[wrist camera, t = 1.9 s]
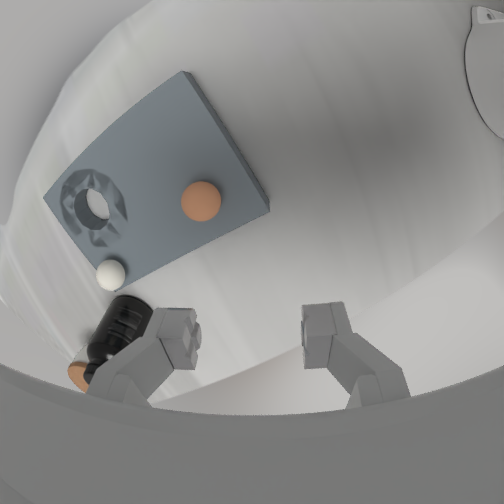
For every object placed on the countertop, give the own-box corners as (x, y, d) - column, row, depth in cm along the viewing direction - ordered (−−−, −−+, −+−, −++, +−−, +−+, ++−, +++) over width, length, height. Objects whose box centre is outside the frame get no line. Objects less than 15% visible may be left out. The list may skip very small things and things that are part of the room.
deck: (189, 73, 20) (181, 70, 18) (269, 201, 26) (269, 211, 24) (55, 189, 26) (42, 197, 23) (123, 279, 32) (115, 292, 29)
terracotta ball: (210, 169, 22) (202, 180, 19) (230, 201, 23) (225, 216, 21) (179, 188, 23) (168, 202, 20) (199, 218, 24) (191, 234, 22)
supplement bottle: (103, 303, 34) (64, 370, 24) (133, 287, 32) (92, 362, 22) (135, 336, 37) (107, 403, 27) (167, 323, 35) (141, 399, 25)
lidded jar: (116, 325, 36) (92, 375, 28) (154, 369, 41) (139, 416, 33) (75, 332, 39) (51, 374, 31) (111, 371, 44) (95, 412, 36)
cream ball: (116, 248, 26) (102, 266, 24) (135, 271, 28) (123, 290, 25) (99, 260, 27) (85, 277, 25) (117, 282, 29) (105, 300, 26)
